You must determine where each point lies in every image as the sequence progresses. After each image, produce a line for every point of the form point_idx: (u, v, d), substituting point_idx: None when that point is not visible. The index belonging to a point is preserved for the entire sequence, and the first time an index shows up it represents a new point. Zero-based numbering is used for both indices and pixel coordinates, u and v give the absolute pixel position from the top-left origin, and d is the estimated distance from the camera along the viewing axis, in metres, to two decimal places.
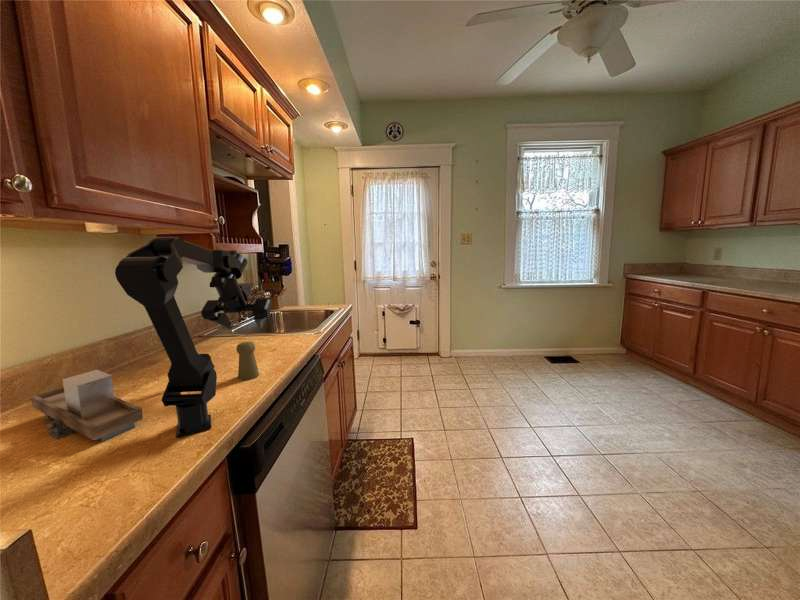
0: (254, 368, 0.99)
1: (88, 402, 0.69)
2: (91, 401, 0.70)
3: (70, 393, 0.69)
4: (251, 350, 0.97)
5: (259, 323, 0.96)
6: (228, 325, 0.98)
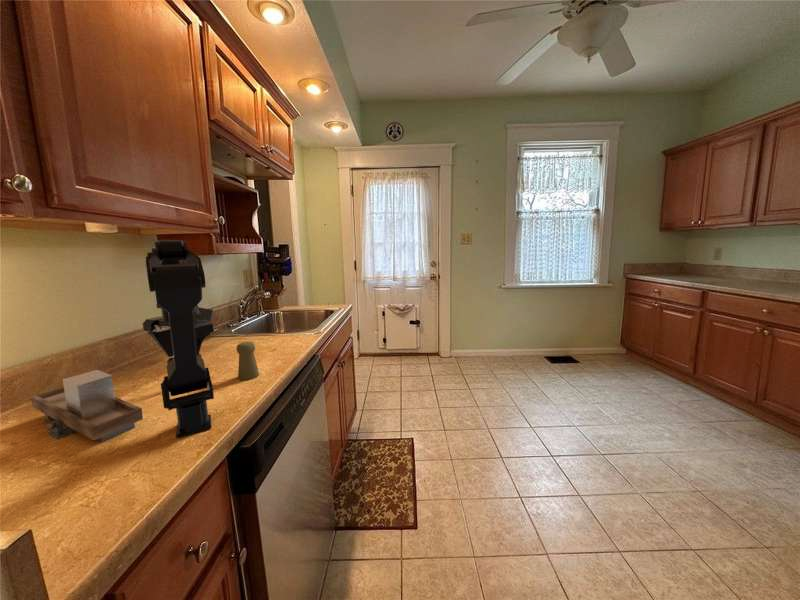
0: (254, 368, 0.99)
1: (88, 402, 0.69)
2: (91, 401, 0.70)
3: (70, 393, 0.69)
4: (251, 350, 0.97)
5: None
6: (167, 349, 0.82)
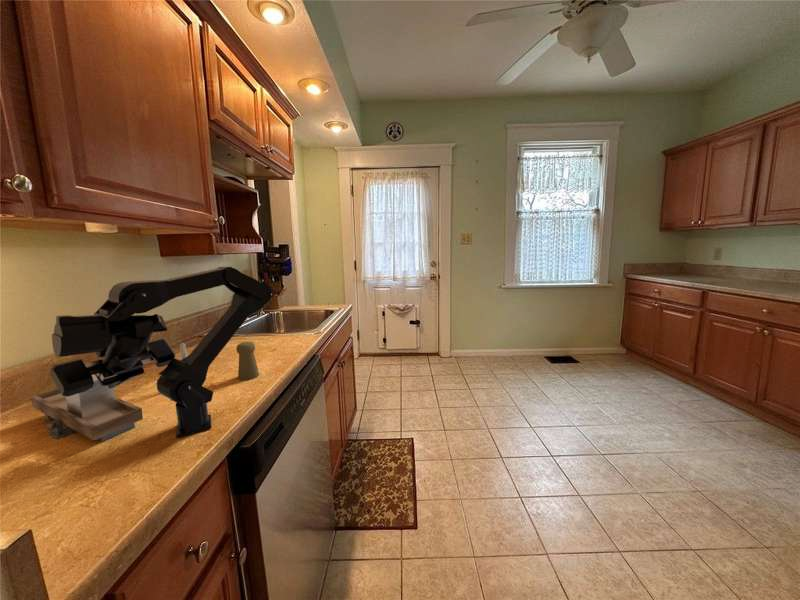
0: (254, 368, 0.99)
1: (88, 402, 0.69)
2: (91, 402, 0.70)
3: None
4: (251, 350, 0.97)
5: None
6: None
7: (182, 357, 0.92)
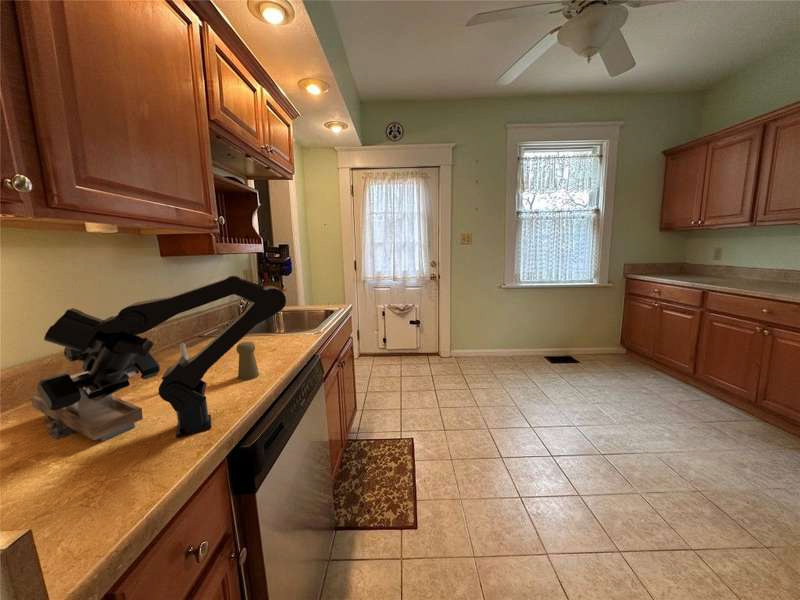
0: (254, 368, 0.99)
1: (86, 401, 0.70)
2: (89, 400, 0.70)
3: None
4: (251, 350, 0.97)
5: (111, 393, 0.70)
6: None
7: None
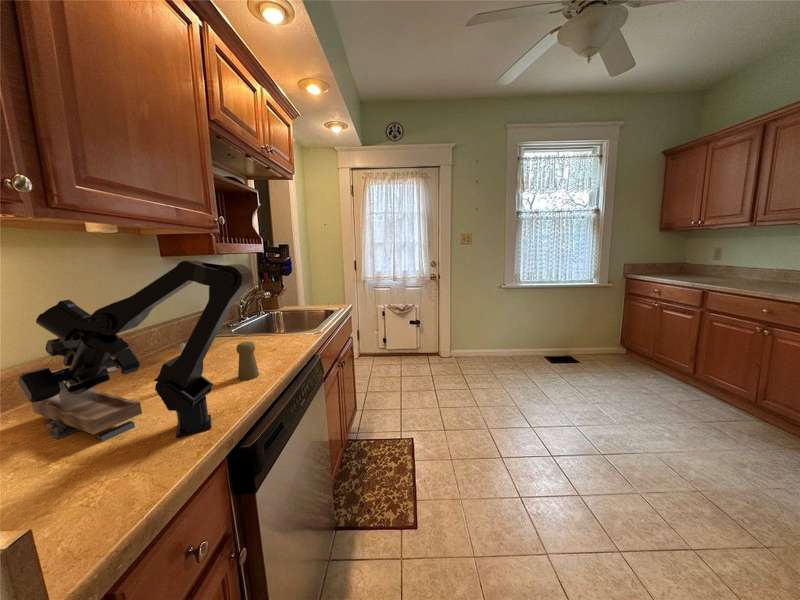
0: (254, 368, 0.99)
1: (67, 393, 0.73)
2: (70, 393, 0.73)
3: None
4: (251, 350, 0.97)
5: (92, 387, 0.73)
6: None
7: None
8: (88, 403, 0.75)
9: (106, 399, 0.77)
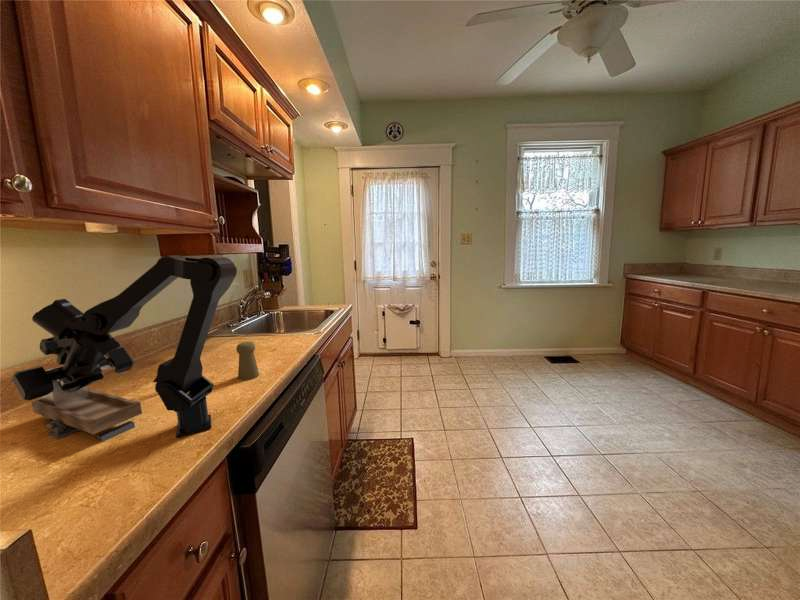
0: (254, 368, 0.99)
1: (61, 391, 0.74)
2: (63, 391, 0.74)
3: None
4: (251, 350, 0.97)
5: (86, 385, 0.75)
6: None
7: None
8: (88, 403, 0.75)
9: (106, 399, 0.77)
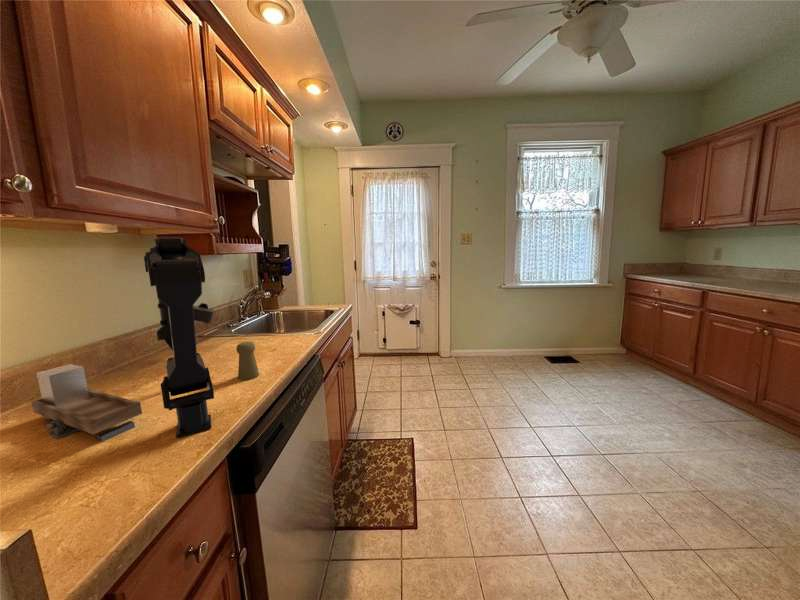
0: (254, 368, 0.99)
1: (61, 391, 0.74)
2: (64, 391, 0.74)
3: (44, 384, 0.74)
4: (251, 350, 0.97)
5: (169, 345, 0.80)
6: None
7: None
8: (88, 403, 0.75)
9: (106, 399, 0.77)
